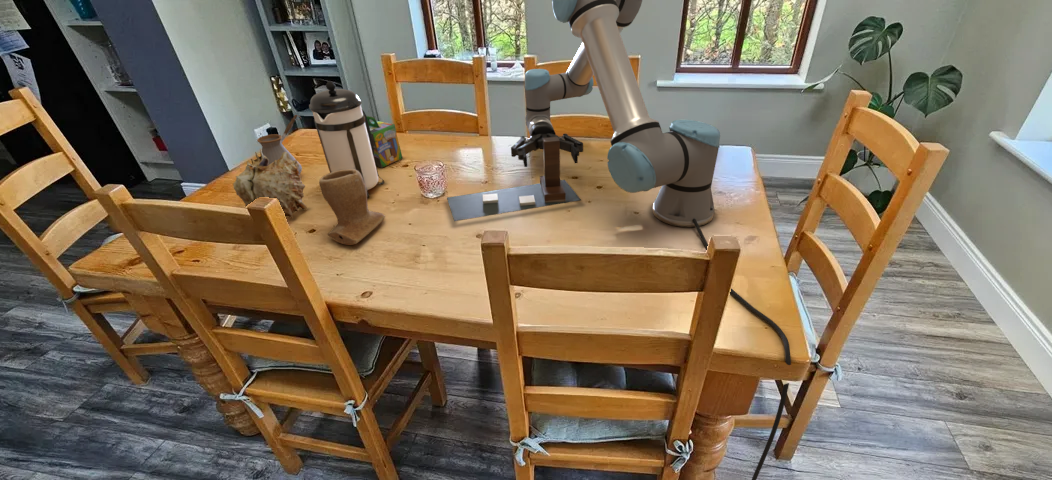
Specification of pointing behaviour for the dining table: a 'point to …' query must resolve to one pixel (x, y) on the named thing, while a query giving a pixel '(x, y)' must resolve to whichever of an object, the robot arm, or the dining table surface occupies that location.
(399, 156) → the chalk box
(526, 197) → the chalk patch
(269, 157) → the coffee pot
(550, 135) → the robot arm
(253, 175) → the seashell
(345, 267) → the dining table surface
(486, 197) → the chalk patch
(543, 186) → the brown upright slab stand
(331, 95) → the coffee press
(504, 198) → the slate board
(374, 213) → the clay platform pipe
